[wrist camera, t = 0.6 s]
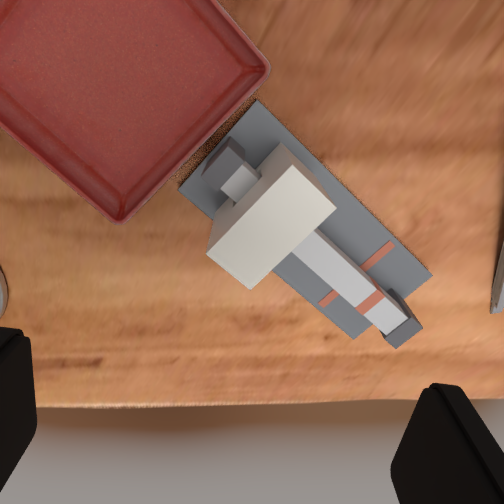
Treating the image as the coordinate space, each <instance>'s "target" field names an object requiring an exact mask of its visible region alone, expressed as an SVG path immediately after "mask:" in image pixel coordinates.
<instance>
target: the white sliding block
mask: <svg viewBox="0 0 504 504" xmlns="http://www.w3.org/2000/svg"><path fill="white" fill-rule="evenodd" d="M255 170H256V171H257V172H258V173H259V174H260V175H261V176H262V177H261V178H260V179H259V180H258V182H257V183H256V184H255V185H254V186H253V187H252V188H251V189H250V190H249V191H248V192H247V193H246V194H245V195H244V196H243V197H242V198H241V199H240V200H239V202H238V203H236V202H235V201H234V200H232V199H231V198H230V197H229V198H228V199H227V200H226V201H225V202H224V203H223V204H222V205H221V206H220V208H219V209H218V210H217V211H216V212H215V215H214V220H213V224H212V228H211V233H210V237H209V242H208V246H207V251H206V255H207V256H209V257H210V258H211V259H212V260H214V261H215V262H216V263H217V264H219V265H220V266H221V267H222V268H223V269H225V270H226V271H227V272H228V273H230V274H231V275H232V276H233V277H235V278H236V279H237V280H238V281H239V282H241V283H242V284H243V285H244V286H246V287H247V288H248V289H249V290H251V289H252V288H253V287H254V286H255V285H256V284H257V283H258V282H260V281H261V280H262V279H263V278H264V277H265V276H266V275H267V274H268V273H269V272H270V271H271V270H272V269H273V268H274V267H275V266H276V265H277V264H279V263H280V262H281V261H282V260H283V259H284V258H285V257H286V256H287V255H288V254H289V253H290V252H291V251H292V250H293V249H294V248H295V247H296V246H298V245H299V244H300V243H301V242H302V241H303V240H304V239H305V238H306V237H307V236H308V235H309V234H310V233H311V232H312V231H313V230H314V229H316V228H317V227H318V226H319V225H320V224H321V223H322V222H323V221H324V220H325V219H326V218H327V217H328V216H329V215H330V214H331V213H332V212H333V211H335V210H336V209H337V207H336V206H335V204H334V203H333V201H332V200H331V198H330V197H329V195H328V194H327V193H326V191H325V190H324V188H323V187H322V185H321V184H320V182H319V181H318V179H317V178H316V176H315V175H314V174H313V173H312V172H311V171H310V170H309V169H308V168H307V167H306V166H305V165H304V164H303V163H302V162H301V161H300V160H299V159H298V158H297V157H296V156H294V155H293V154H292V153H291V152H290V151H289V150H288V149H287V148H286V147H285V146H284V145H283V144H282V143H281V142H280V144H279V145H278V146H277V147H276V148H275V149H274V150H273V151H272V152H271V153H270V154H269V155H268V156H267V157H266V158H265V160H264V161H263V162H262V163H261V164H260V165H259V166H258V167H257V168H256V169H255Z"/></svg>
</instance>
